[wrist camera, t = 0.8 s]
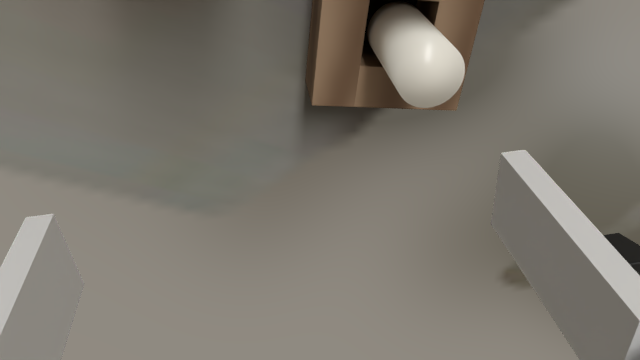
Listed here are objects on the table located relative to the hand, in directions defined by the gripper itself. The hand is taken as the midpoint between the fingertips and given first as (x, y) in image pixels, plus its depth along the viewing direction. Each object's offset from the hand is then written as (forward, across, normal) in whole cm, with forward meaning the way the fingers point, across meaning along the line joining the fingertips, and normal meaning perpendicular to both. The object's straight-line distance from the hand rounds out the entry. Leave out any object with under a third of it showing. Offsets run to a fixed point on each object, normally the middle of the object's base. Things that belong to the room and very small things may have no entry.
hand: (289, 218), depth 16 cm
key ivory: (+26, +10, -4) cm, 29 cm away
